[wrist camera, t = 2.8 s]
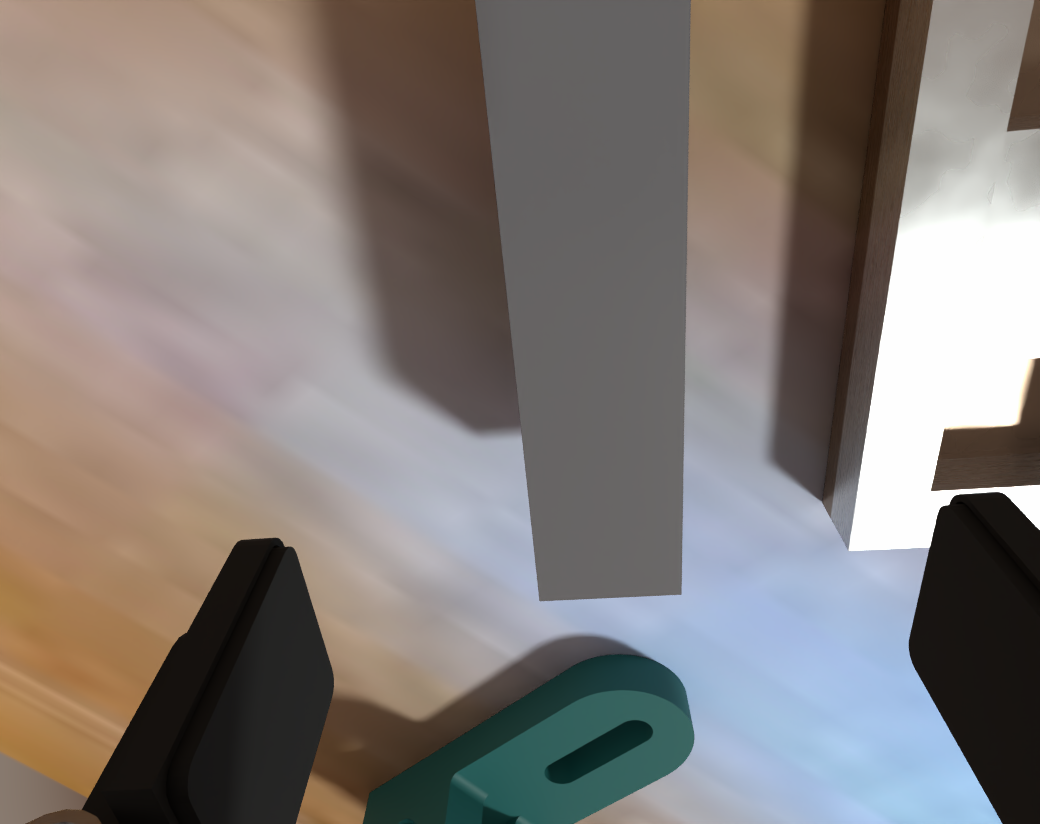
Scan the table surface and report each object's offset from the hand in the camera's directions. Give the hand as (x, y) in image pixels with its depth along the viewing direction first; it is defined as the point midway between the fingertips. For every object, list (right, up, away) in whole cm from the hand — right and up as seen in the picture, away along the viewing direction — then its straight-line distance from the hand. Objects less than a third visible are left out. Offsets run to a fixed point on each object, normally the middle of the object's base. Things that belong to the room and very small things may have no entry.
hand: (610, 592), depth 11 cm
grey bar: (+1, +8, +14) cm, 17 cm away
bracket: (-1, -15, +28) cm, 31 cm away
